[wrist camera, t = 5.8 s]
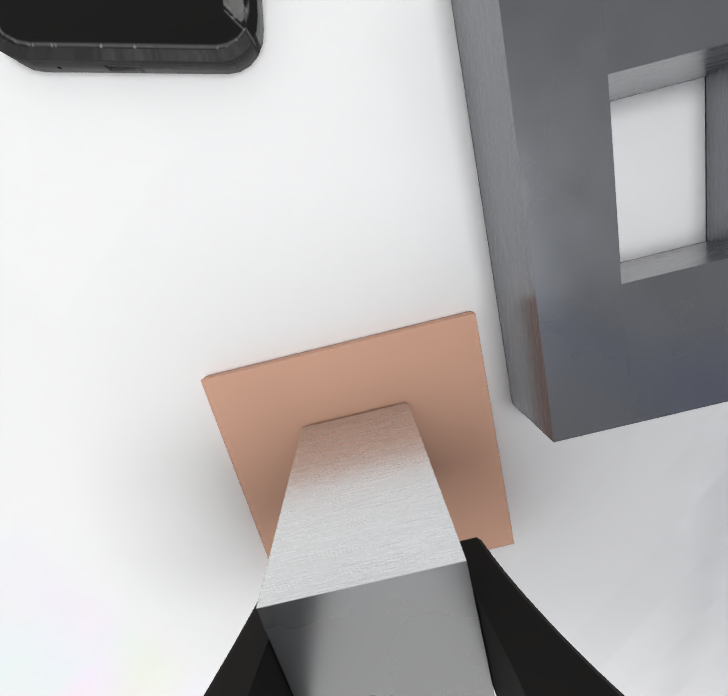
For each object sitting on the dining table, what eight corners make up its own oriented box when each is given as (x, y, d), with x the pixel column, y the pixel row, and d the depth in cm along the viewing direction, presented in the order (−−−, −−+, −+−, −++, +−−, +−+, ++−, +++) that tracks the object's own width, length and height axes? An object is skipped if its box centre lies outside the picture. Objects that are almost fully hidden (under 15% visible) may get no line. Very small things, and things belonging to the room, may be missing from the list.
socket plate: (770, 342, 14) (879, 365, 11) (512, 404, 14) (553, 442, 11) (788, -119, 11) (954, -259, 8) (447, -25, 11) (482, -127, 8)
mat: (509, 534, 16) (514, 543, 15) (285, 586, 16) (282, 596, 16) (470, 311, 13) (475, 313, 13) (206, 376, 14) (200, 380, 13)
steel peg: (428, 492, 15) (497, 706, 8) (330, 515, 15) (314, 745, 8) (407, 401, 13) (466, 560, 7) (302, 427, 14) (256, 608, 7)
